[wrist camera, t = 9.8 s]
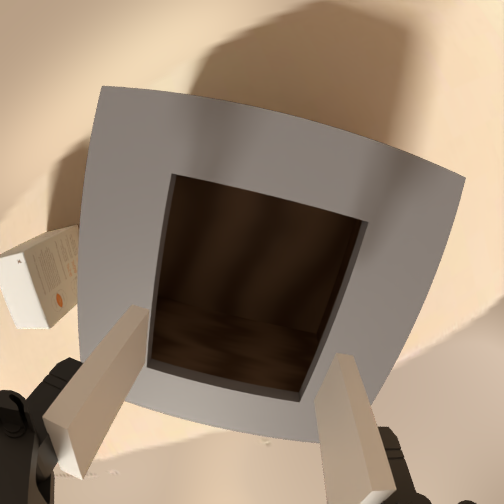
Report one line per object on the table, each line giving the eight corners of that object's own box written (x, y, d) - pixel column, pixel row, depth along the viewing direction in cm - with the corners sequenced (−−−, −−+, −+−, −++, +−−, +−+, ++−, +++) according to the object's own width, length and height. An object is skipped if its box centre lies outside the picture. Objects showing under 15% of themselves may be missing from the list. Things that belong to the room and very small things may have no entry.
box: (149, 297, 35) (83, 385, 20) (180, 115, 29) (102, 85, 14) (320, 337, 35) (345, 445, 20) (377, 163, 29) (465, 177, 14)
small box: (46, 231, 33) (-11, 257, 23) (79, 223, 33) (21, 249, 23) (63, 291, 36) (15, 330, 26) (97, 288, 35) (49, 330, 25)
